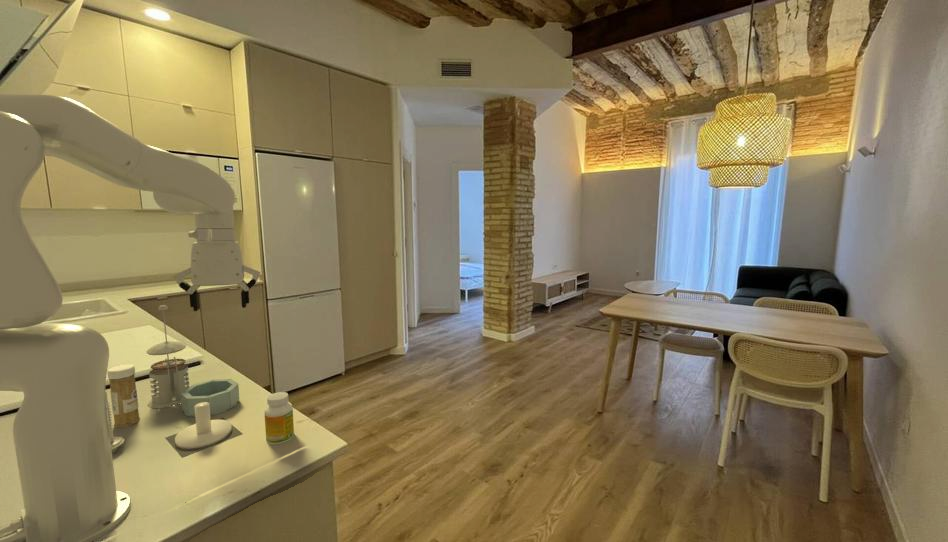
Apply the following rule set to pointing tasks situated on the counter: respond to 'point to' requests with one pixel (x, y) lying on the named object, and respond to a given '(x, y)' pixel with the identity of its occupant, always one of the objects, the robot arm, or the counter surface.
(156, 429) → the counter surface
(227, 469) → the counter surface
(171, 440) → the mat
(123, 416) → the sprinkles bottle
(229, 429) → the lid
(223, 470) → the counter surface
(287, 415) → the supplement bottle
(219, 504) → the counter surface
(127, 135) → the robot arm
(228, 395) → the bowl
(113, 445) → the screw
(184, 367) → the french press
